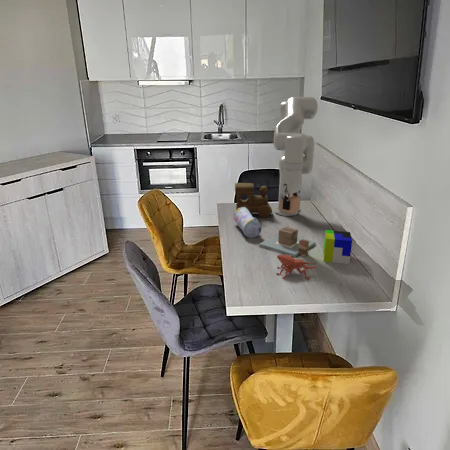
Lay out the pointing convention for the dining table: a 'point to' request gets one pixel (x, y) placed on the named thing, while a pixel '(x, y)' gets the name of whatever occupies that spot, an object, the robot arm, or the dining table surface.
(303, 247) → the tower
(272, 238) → the board
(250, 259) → the dining table surface
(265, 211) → the wooden toy train
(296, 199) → the terracotta block
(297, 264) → the beetle
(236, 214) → the pencil case
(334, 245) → the puzzle toy
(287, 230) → the walnut block
